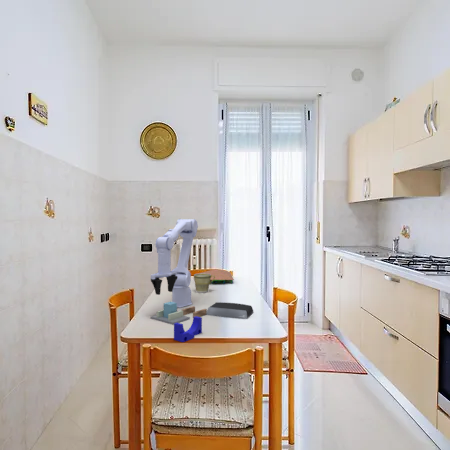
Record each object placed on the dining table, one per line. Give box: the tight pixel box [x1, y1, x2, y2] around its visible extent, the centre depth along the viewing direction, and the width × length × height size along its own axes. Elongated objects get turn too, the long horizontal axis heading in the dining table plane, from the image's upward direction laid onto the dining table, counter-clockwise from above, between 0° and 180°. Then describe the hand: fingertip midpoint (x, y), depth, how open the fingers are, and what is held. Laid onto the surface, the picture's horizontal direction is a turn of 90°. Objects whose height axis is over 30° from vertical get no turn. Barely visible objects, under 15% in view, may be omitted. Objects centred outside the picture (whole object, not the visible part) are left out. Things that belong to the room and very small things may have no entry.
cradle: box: [181, 305, 208, 318], centre depth 161 cm, size 8×8×2 cm
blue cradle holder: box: [173, 316, 203, 343], centre depth 132 cm, size 12×4×6 cm, turn 143°
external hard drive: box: [205, 301, 254, 320], centre depth 164 cm, size 13×19×4 cm
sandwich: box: [198, 268, 235, 285], centre depth 246 cm, size 23×33×8 cm
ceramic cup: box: [193, 272, 215, 294], centre depth 210 cm, size 13×10×10 cm
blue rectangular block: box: [163, 301, 178, 318], centre depth 154 cm, size 4×4×6 cm
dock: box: [149, 309, 191, 326], centre depth 154 cm, size 10×14×3 cm
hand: (164, 293), depth 162 cm, fingers open, 7 cm apart
